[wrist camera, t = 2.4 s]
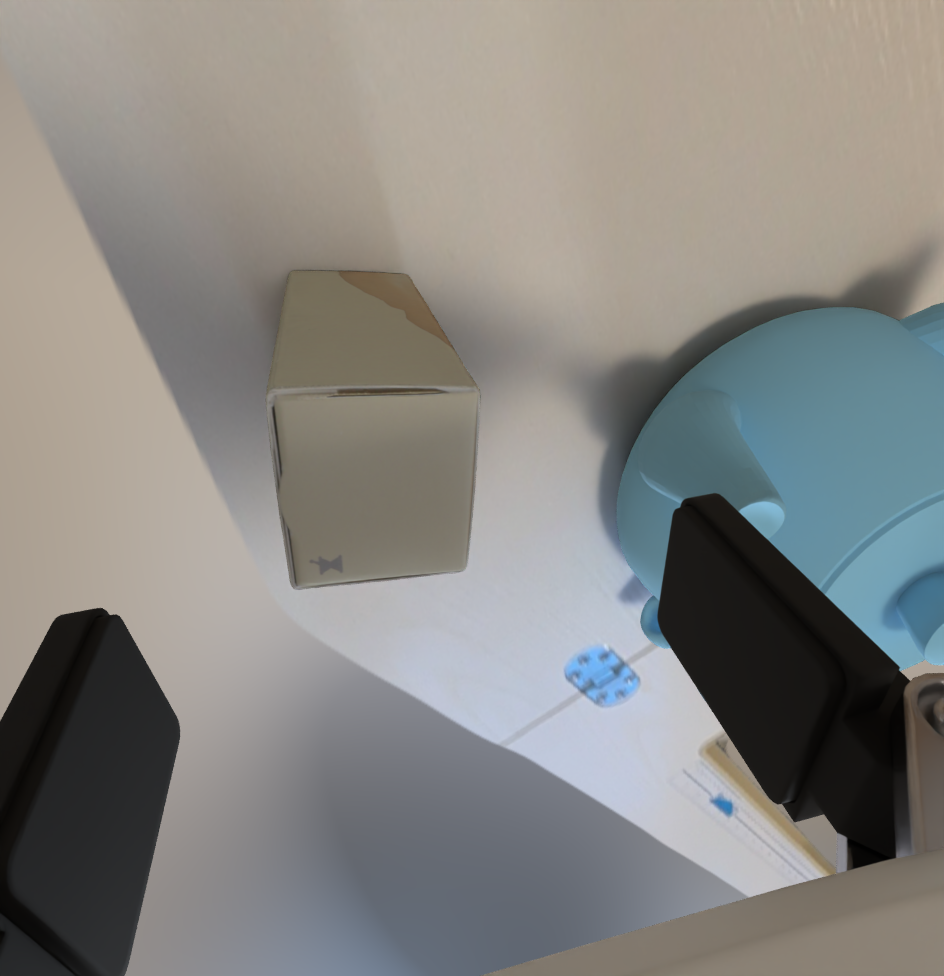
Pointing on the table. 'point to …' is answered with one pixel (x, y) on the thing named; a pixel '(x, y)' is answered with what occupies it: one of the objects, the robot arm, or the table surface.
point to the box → (369, 432)
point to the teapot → (812, 464)
